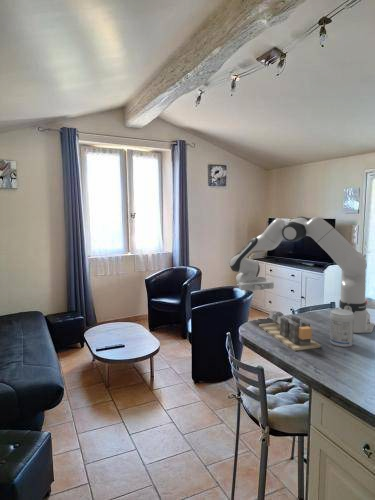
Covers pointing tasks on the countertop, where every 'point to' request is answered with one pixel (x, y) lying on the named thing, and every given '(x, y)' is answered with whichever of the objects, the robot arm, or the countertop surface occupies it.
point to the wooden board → (290, 334)
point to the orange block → (305, 332)
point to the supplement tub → (341, 327)
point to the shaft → (277, 315)
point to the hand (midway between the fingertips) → (262, 288)
